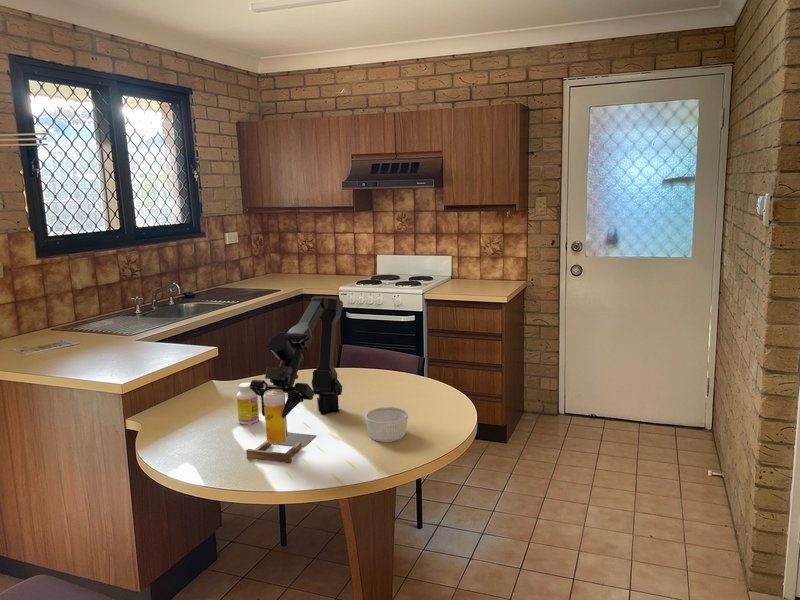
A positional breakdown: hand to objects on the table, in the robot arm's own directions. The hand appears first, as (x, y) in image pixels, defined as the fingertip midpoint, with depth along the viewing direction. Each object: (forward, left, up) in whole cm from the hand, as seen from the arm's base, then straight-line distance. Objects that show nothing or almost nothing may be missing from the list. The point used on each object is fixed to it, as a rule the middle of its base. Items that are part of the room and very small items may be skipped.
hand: (273, 416), depth 182 cm
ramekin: (-34, -2, -12) cm, 36 cm away
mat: (-6, -9, -12) cm, 16 cm away
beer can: (-1, -1, -8) cm, 8 cm away
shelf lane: (-1, -1, -12) cm, 12 cm away
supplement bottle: (+6, -30, -12) cm, 33 cm away
